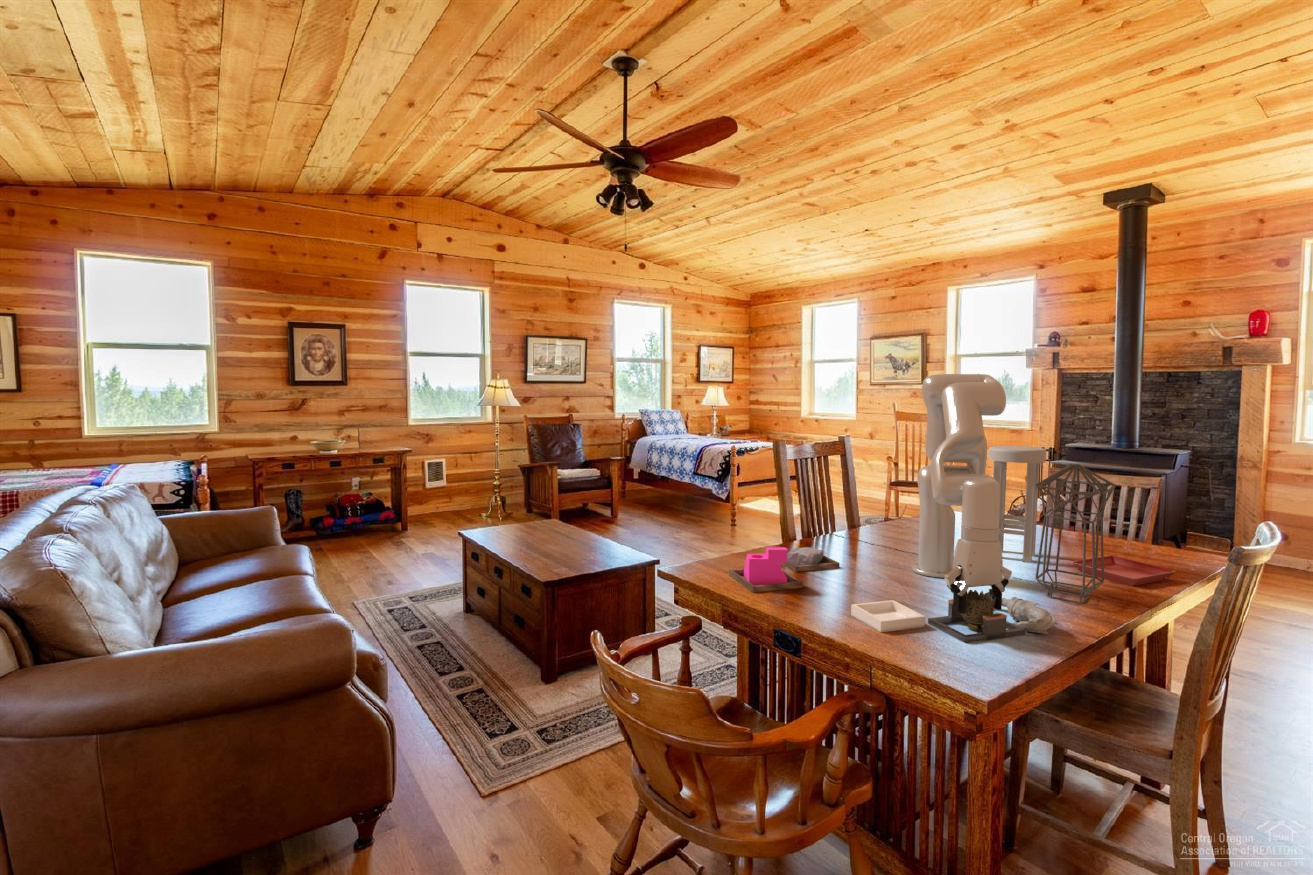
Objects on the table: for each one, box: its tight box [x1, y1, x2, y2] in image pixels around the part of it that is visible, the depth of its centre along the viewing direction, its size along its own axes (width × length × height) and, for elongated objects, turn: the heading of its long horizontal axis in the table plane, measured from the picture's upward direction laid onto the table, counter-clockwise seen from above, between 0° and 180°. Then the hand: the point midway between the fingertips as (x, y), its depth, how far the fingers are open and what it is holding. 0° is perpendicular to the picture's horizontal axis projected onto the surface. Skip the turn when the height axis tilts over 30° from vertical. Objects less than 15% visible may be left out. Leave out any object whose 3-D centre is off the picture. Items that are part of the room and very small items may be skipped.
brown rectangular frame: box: [781, 550, 840, 572], centre depth 200 cm, size 15×17×2 cm
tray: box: [850, 599, 926, 633], centre depth 150 cm, size 12×12×2 cm
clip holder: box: [927, 598, 1027, 644], centre depth 145 cm, size 16×12×5 cm
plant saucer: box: [1071, 555, 1176, 587], centre depth 186 cm, size 18×18×3 cm
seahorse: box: [993, 596, 1057, 635], centre depth 150 cm, size 5×12×20 cm
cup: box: [961, 589, 996, 632], centre depth 145 cm, size 8×7×8 cm
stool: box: [988, 445, 1047, 564], centre depth 206 cm, size 16×16×35 cm
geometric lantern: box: [1034, 463, 1116, 604], centre depth 166 cm, size 16×16×35 cm
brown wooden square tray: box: [728, 568, 804, 593], centre depth 181 cm, size 15×17×2 cm
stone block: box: [787, 546, 825, 566], centre depth 200 cm, size 12×5×10 cm
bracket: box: [743, 546, 789, 586], centre depth 181 cm, size 12×10×10 cm
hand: (977, 609), depth 145 cm, fingers open, 9 cm apart
